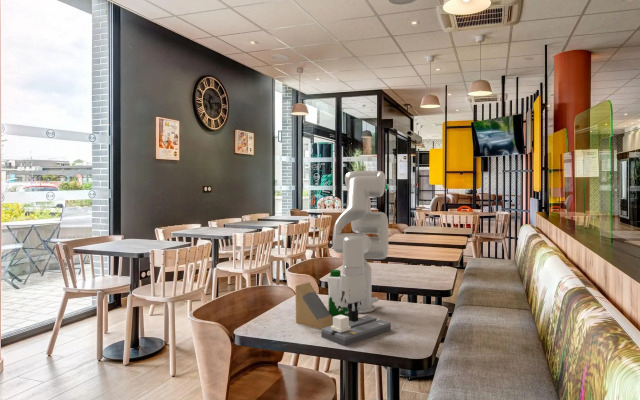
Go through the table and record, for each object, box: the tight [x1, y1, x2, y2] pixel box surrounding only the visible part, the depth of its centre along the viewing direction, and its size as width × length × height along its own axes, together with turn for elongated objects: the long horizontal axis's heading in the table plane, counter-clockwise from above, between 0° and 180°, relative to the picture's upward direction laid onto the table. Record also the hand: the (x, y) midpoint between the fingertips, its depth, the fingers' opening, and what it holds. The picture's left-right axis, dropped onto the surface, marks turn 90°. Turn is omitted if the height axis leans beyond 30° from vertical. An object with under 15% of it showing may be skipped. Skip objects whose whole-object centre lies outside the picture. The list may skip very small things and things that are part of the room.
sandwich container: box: [295, 281, 333, 330], centre depth 178 cm, size 9×15×15 cm, turn 51°
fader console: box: [320, 315, 392, 347], centre depth 167 cm, size 24×12×3 cm, turn 131°
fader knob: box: [331, 315, 351, 333], centre depth 161 cm, size 5×5×6 cm
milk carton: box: [326, 269, 351, 317], centre depth 182 cm, size 9×9×20 cm
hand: (353, 320), depth 166 cm, fingers closed
